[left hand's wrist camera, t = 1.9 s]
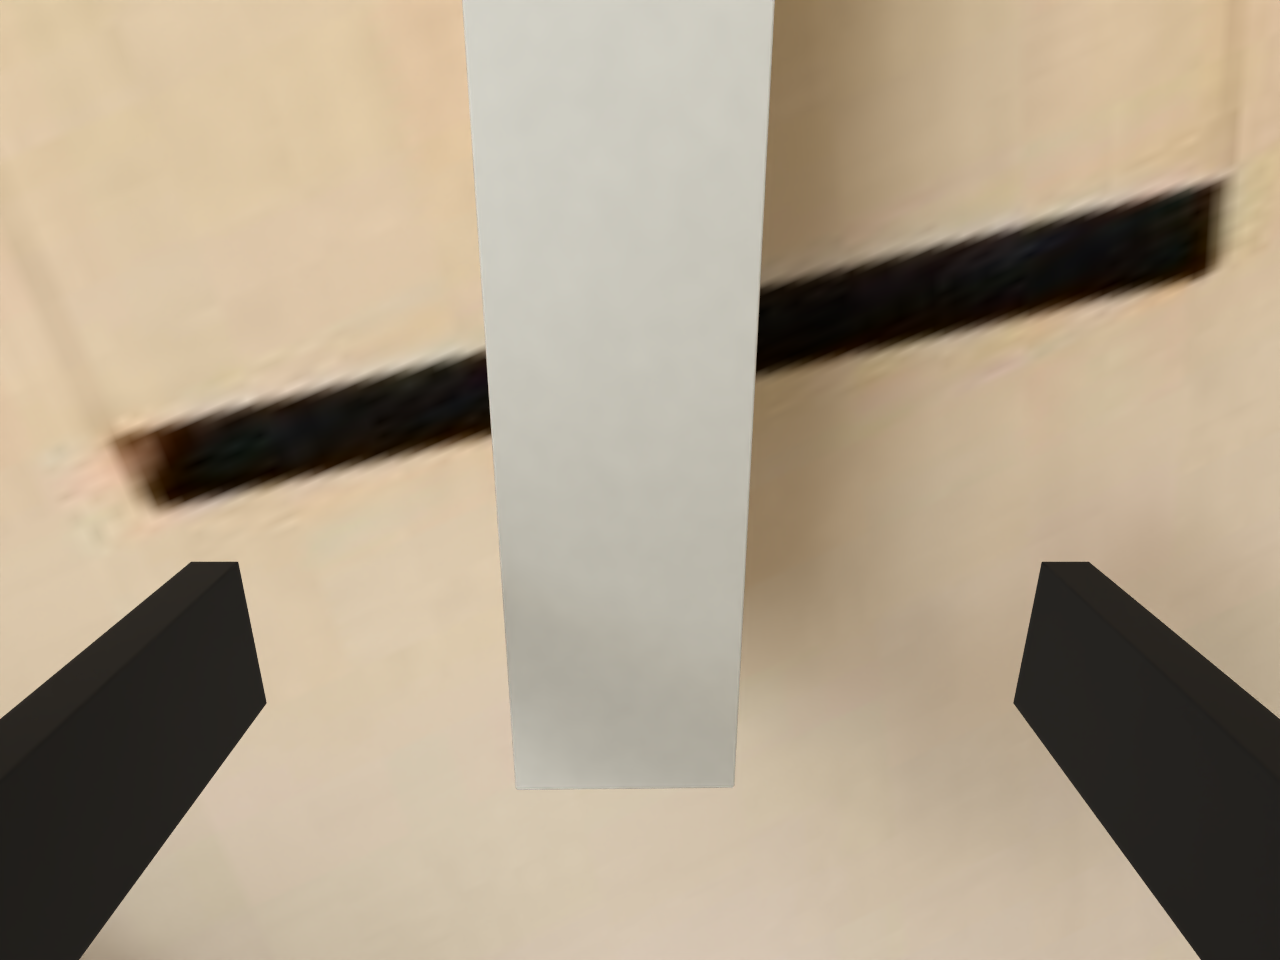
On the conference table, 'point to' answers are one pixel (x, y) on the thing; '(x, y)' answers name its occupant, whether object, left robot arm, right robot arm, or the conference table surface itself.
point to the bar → (621, 370)
